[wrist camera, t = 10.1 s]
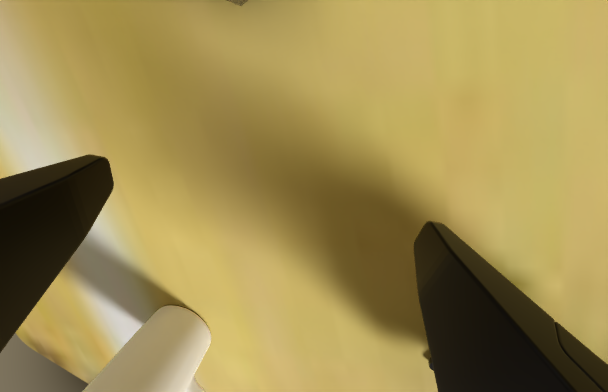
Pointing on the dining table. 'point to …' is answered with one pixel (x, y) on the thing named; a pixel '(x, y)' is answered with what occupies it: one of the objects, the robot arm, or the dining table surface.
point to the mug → (158, 355)
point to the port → (238, 1)
